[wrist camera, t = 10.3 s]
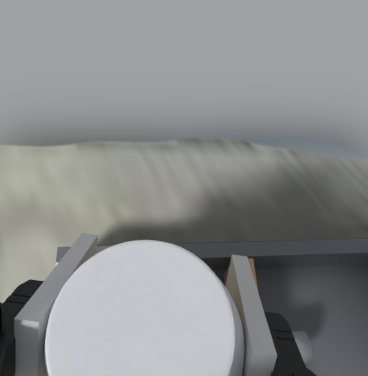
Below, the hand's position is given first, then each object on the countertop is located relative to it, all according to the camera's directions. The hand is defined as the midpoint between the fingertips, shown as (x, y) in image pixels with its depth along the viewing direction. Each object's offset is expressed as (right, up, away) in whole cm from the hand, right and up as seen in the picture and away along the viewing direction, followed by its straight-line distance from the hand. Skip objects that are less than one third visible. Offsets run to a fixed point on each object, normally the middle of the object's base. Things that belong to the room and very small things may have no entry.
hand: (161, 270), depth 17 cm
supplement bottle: (-1, -6, +3) cm, 6 cm away
